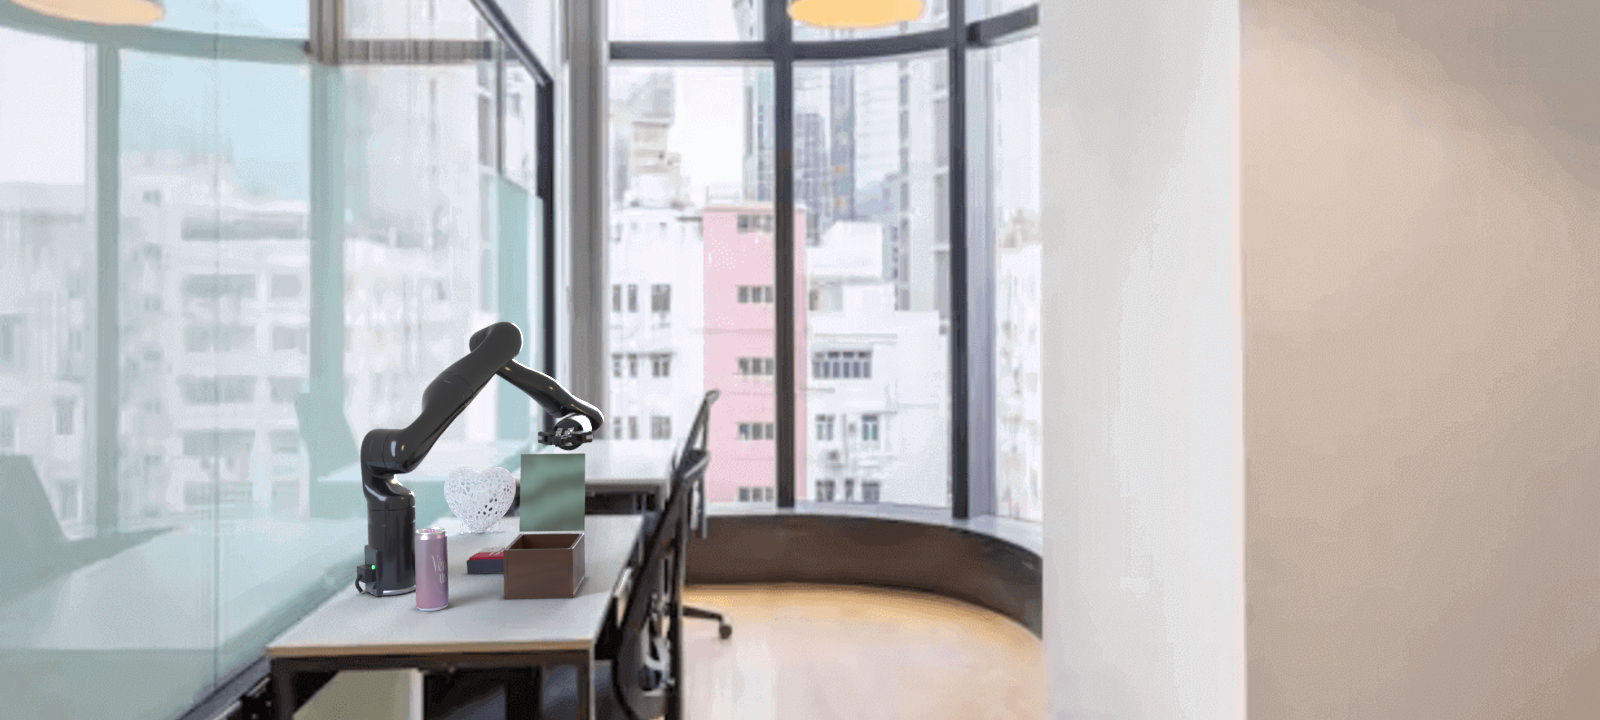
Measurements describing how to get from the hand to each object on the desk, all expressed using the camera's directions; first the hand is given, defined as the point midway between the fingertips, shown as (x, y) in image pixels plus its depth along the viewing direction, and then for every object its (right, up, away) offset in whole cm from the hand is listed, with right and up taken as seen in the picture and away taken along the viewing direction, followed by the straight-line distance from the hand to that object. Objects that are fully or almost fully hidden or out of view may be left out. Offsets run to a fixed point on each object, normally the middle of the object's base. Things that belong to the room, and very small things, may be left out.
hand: (558, 442), depth 236 cm
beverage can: (-18, -30, -29) cm, 45 cm away
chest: (+1, -29, -15) cm, 33 cm away
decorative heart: (-29, -27, +40) cm, 56 cm away
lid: (0, -10, -7) cm, 13 cm away
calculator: (-11, -28, +2) cm, 31 cm away
